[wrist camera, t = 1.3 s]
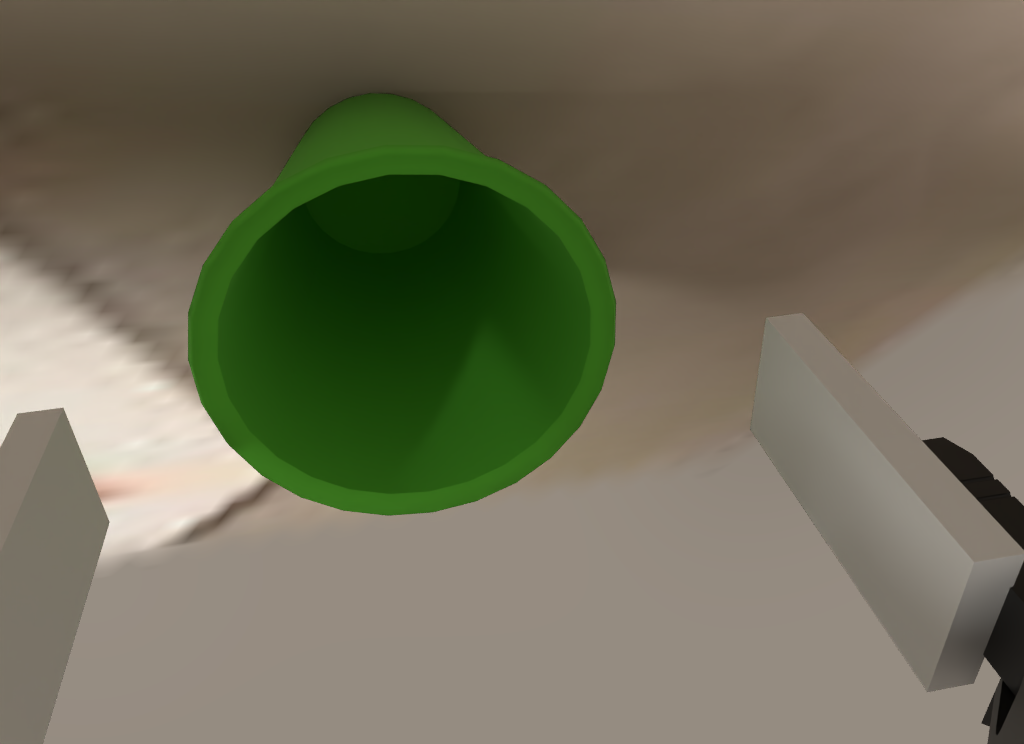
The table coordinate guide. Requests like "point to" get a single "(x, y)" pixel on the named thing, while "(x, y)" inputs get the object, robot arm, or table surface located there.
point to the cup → (400, 317)
